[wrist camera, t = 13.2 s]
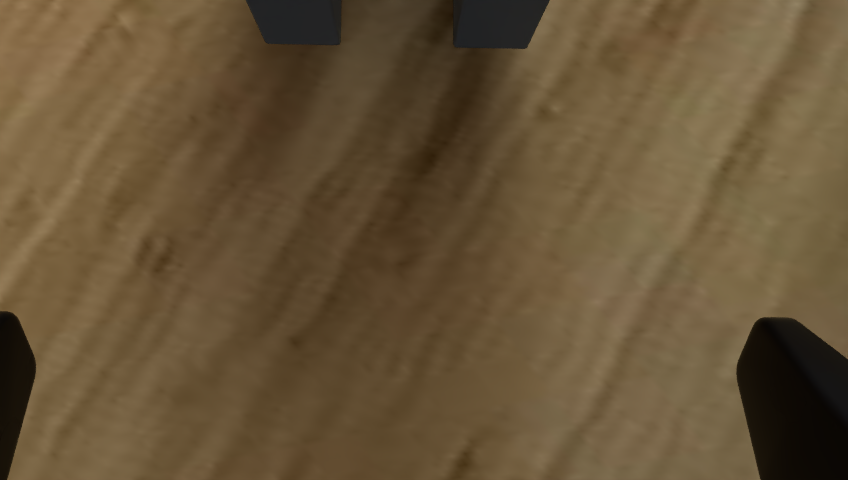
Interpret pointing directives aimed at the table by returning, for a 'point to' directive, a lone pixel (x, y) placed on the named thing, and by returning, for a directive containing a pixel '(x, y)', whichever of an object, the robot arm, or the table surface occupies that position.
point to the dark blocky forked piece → (472, 22)
